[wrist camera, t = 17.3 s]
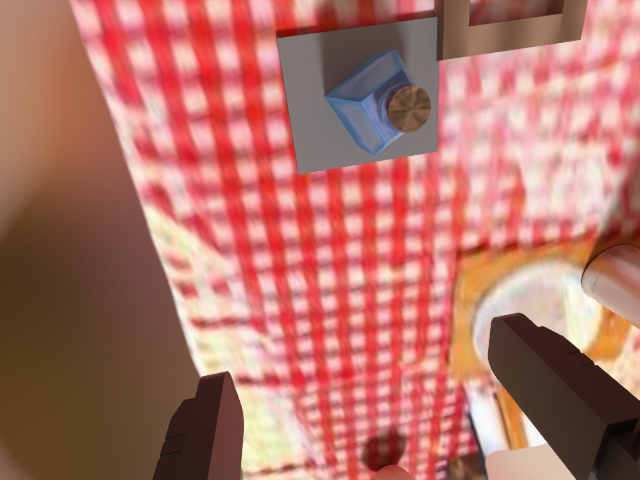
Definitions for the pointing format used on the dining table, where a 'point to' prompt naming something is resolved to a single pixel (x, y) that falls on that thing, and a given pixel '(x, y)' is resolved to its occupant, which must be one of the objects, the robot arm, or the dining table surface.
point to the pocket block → (504, 29)
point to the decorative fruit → (392, 473)
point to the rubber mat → (337, 65)
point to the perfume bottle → (380, 102)
